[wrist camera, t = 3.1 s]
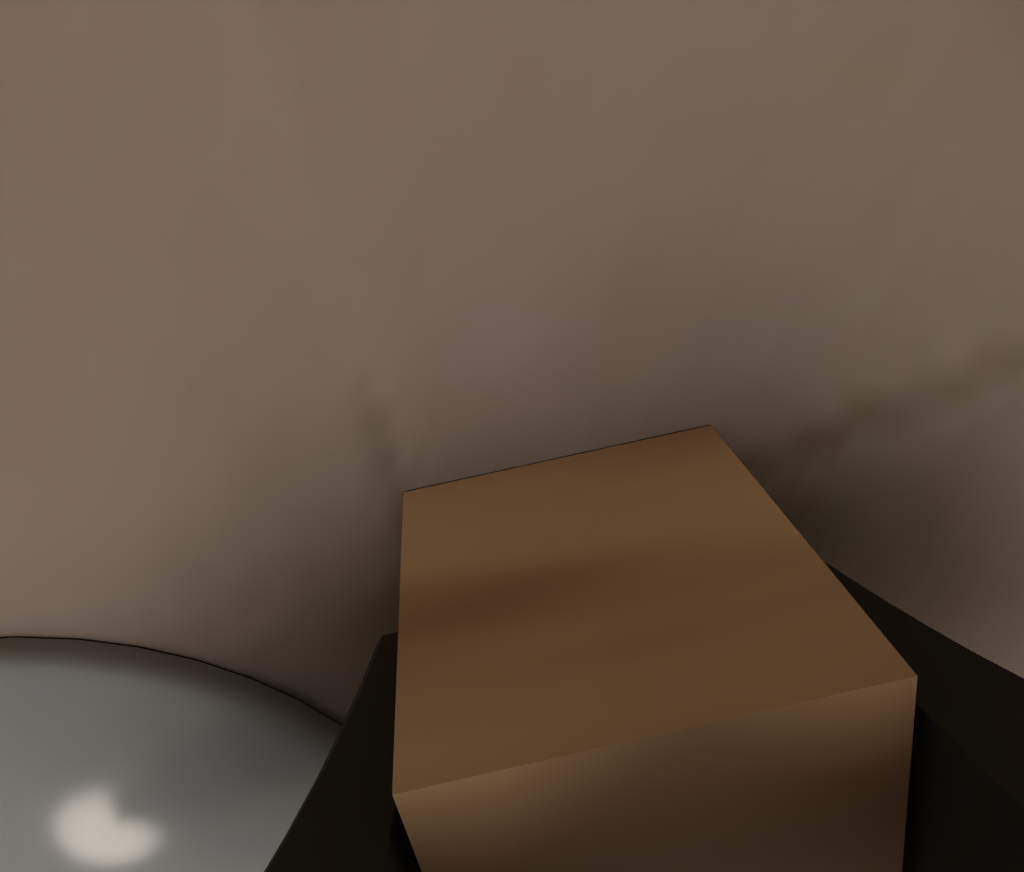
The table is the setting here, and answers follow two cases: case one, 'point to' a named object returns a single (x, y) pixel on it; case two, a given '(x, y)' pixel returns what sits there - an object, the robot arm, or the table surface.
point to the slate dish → (146, 761)
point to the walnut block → (639, 676)
